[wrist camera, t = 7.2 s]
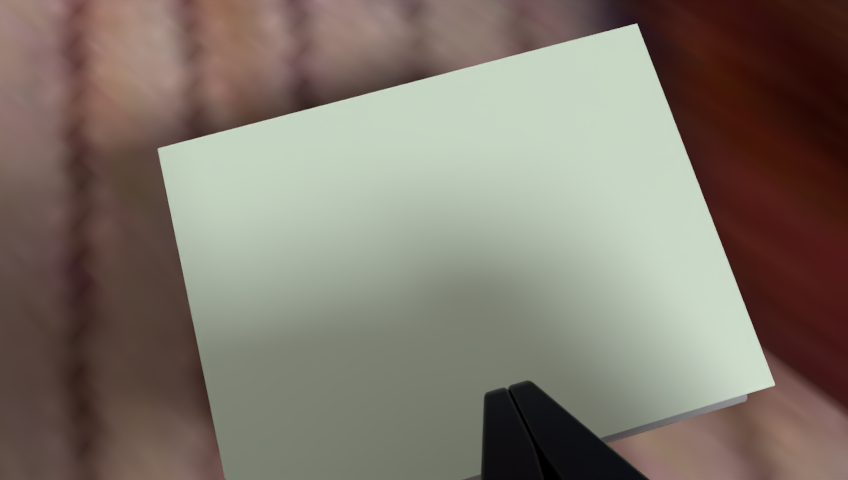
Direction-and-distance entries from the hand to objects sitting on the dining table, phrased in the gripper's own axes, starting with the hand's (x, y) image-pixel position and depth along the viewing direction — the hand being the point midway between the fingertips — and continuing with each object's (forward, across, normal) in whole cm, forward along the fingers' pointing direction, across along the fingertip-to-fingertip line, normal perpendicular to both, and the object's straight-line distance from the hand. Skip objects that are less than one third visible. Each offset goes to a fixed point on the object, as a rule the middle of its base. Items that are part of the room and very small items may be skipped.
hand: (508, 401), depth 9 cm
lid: (+4, 0, 0) cm, 4 cm away
